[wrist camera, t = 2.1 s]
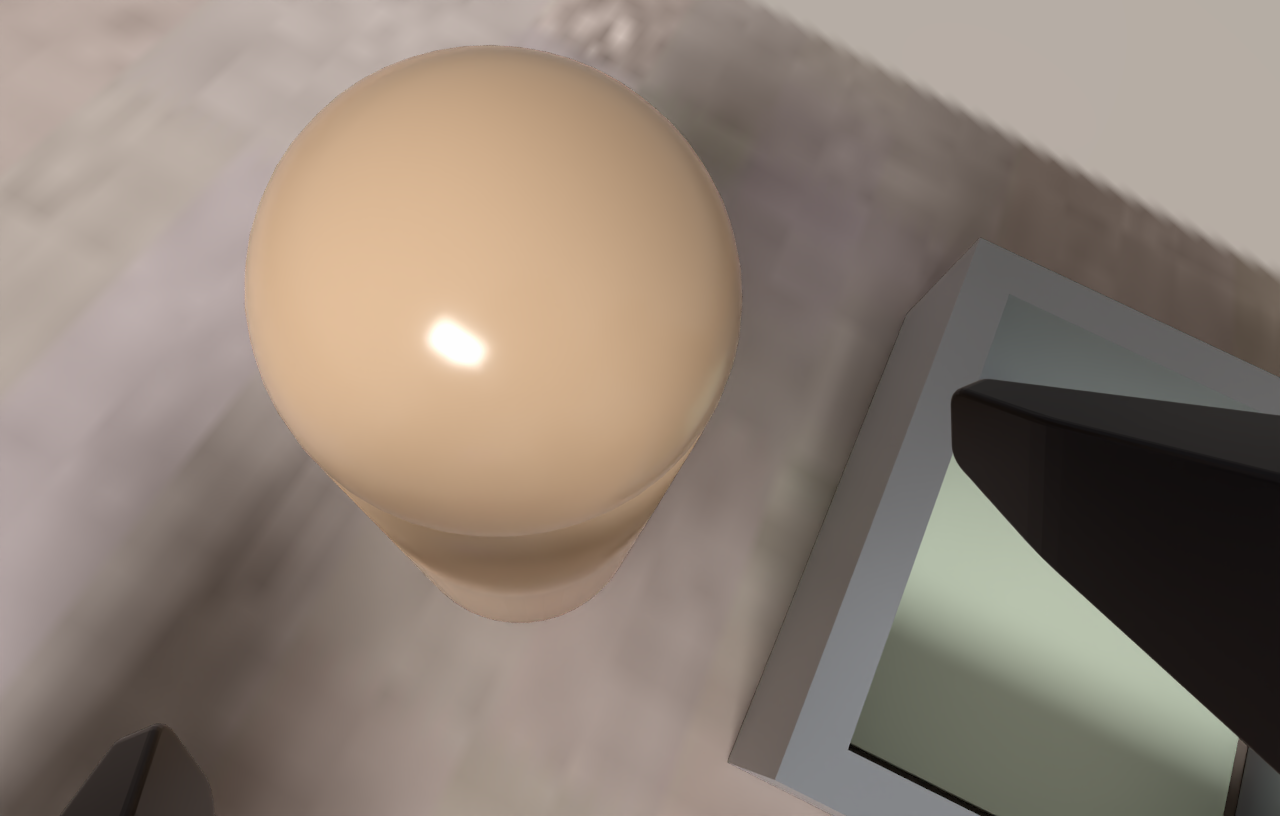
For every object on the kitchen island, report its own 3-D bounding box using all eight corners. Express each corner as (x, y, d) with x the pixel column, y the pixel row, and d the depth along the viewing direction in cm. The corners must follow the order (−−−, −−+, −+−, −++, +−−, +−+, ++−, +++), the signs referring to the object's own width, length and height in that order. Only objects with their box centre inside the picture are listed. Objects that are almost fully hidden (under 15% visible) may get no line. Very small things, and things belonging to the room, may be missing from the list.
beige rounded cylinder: (573, 663, 19) (642, 599, 6) (364, 558, 19) (0, 280, 6) (671, 459, 21) (887, 70, 8) (478, 365, 21) (376, -166, 8)
